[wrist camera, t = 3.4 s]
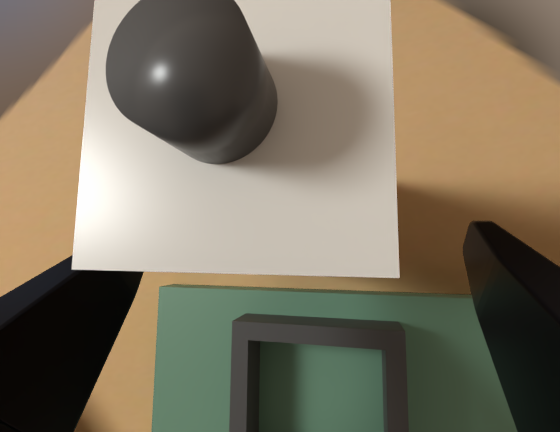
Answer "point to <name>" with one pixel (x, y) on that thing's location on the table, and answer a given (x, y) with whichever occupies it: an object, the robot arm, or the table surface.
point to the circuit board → (322, 362)
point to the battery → (239, 139)
